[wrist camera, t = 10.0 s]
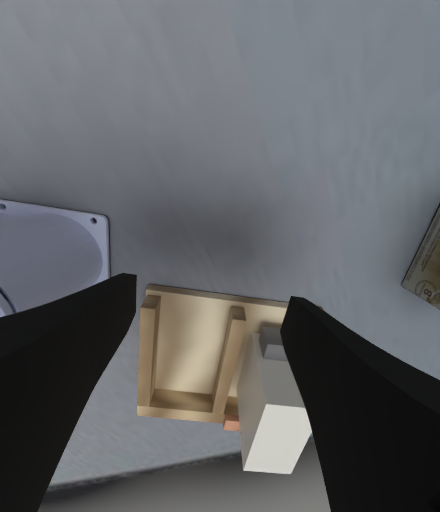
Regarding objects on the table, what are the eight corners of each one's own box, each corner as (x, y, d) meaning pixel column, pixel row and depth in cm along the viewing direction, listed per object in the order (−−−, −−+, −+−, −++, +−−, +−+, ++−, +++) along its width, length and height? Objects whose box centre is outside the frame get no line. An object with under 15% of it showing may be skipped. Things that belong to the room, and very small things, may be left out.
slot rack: (144, 388, 25) (132, 421, 22) (149, 284, 20) (135, 306, 17) (284, 402, 26) (293, 436, 23) (321, 307, 21) (341, 332, 18)
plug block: (236, 389, 24) (243, 470, 17) (254, 319, 20) (271, 387, 14) (271, 392, 24) (290, 474, 18) (294, 324, 21) (330, 393, 14)
